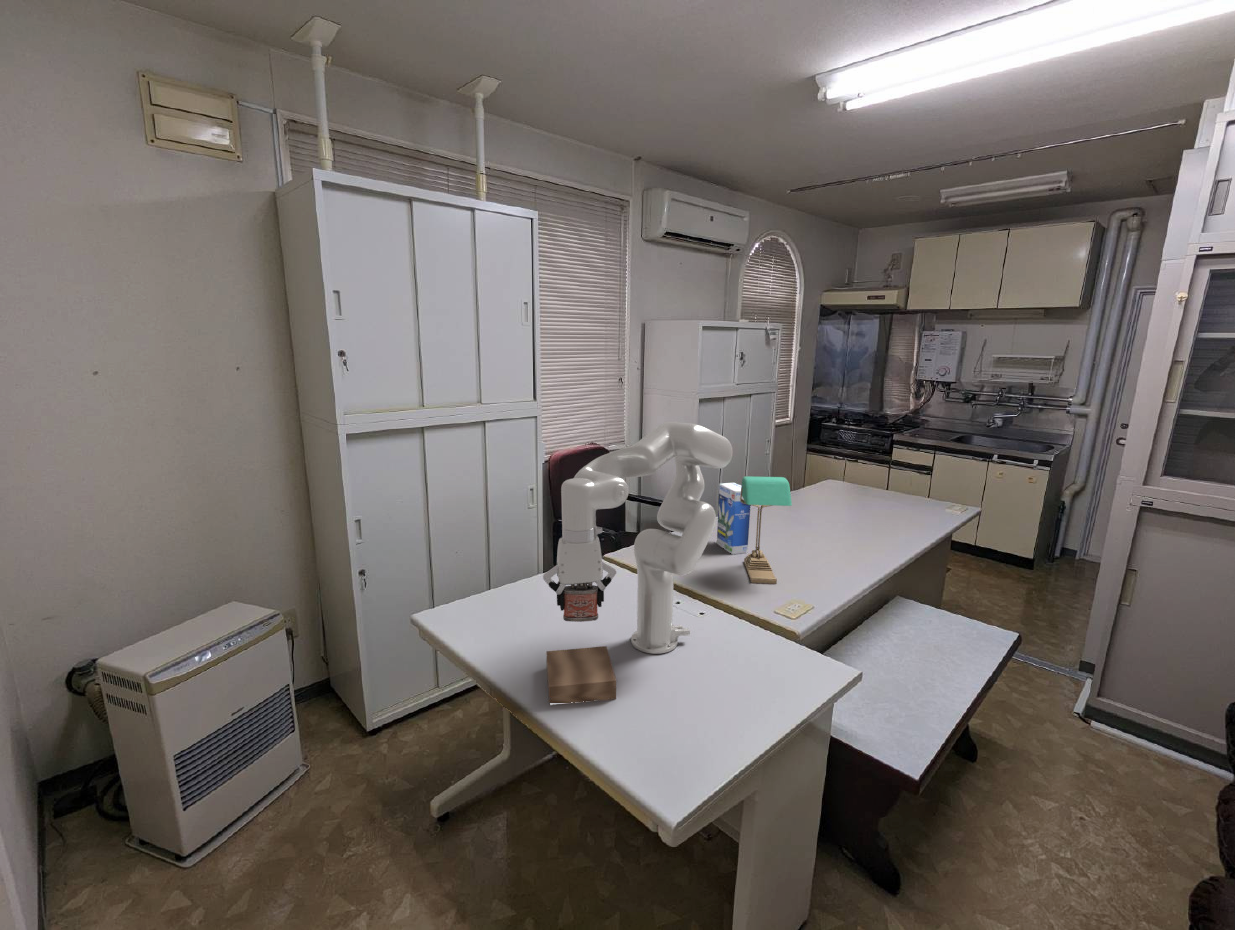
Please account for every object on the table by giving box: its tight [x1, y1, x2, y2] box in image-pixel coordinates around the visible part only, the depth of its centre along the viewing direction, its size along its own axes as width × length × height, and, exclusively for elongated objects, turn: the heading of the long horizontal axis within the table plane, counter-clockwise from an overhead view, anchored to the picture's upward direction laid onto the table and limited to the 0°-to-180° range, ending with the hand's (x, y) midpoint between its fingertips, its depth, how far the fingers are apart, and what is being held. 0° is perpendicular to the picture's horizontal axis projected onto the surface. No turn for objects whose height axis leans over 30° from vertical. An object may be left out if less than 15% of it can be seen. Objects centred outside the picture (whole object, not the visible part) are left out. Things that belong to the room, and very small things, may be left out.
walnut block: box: [546, 645, 617, 704], centre depth 128 cm, size 15×15×5 cm
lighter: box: [562, 582, 599, 623], centre depth 124 cm, size 8×3×10 cm, turn 93°
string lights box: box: [716, 482, 751, 555], centre depth 217 cm, size 13×8×26 cm, turn 17°
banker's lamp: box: [740, 475, 793, 585], centre depth 191 cm, size 16×21×35 cm
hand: (580, 605), depth 125 cm, fingers closed on lighter, 8 cm apart
